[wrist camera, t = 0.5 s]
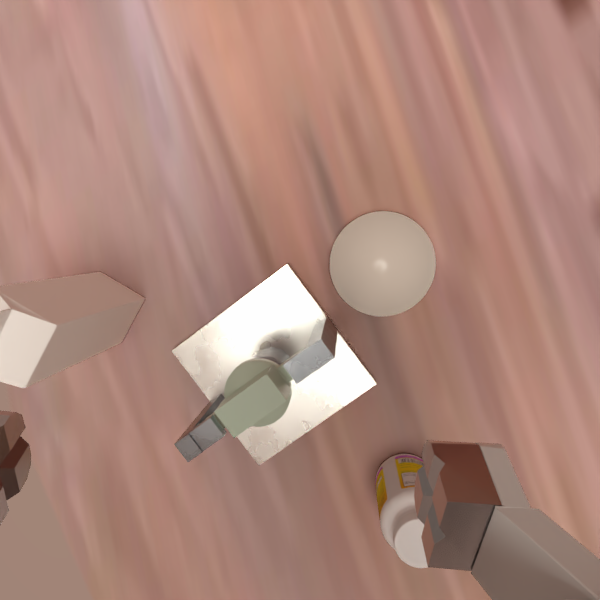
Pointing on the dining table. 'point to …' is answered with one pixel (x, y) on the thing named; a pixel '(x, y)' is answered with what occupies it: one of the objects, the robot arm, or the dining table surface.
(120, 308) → the milk
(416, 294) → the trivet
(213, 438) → the twin post base plate
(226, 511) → the dining table surface
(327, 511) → the dining table surface
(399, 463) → the supplement bottle
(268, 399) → the pale green disc-and-bar piece
